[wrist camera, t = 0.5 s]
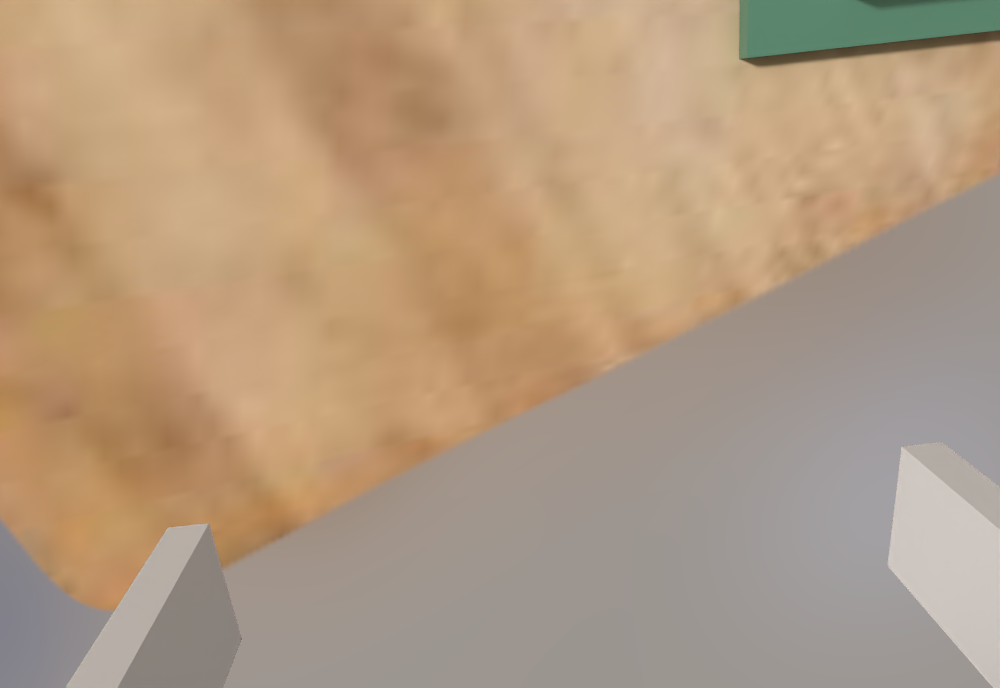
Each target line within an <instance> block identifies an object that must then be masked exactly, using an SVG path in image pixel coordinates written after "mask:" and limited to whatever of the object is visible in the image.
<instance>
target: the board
mask: <svg viewBox="0 0 1000 688" xmlns="http://www.w3.org/2000/svg"><path fill="white" fill-rule="evenodd" d="M997 30H1000V0H740V46H739V59H742V58H752V57H761V56H770V55H780V54H789V53H798V52H807V51H816V50H825V49H834V48H843V47H852V46H861V45H870V44H879V43H888V42H898V41H907V40H916V39H925V38H934V37H943V36H952V35H961V34H970V33H979V32H988V31H997Z"/></svg>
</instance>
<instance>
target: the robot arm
mask: <svg viewBox="0 0 1000 688" xmlns="http://www.w3.org/2000/svg"><path fill="white" fill-rule="evenodd" d="M888 567H889V568H890V569H891V570H892V571H893V573H894V574H895V575H896V576H897V577H898V578H899V580H900V581H901V582H902V583H903V584H904V585H905V586H906V588H907V589H908V590H909V591H910V592H911V593H912V594H913V596H914V597H915V598H916V599H917V600H918V601H919V603H920V604H921V605H922V606H923V607H924V608H925V609H926V610H927V612H928V613H929V614H930V615H931V616H932V618H933V619H934V620H935V621H936V622H937V623H938V625H939V626H940V627H941V628H942V629H943V630H944V631H945V633H946V634H947V635H948V636H949V637H950V638H951V640H952V641H953V642H954V643H955V644H956V645H957V646H958V648H959V649H960V650H961V651H962V652H963V653H964V655H965V656H966V657H967V658H968V659H969V660H970V661H971V663H972V664H973V665H974V666H975V667H976V668H977V670H978V671H979V672H980V673H981V674H982V675H983V676H984V678H985V679H986V680H987V681H988V682H989V683H990V685H991V686H992V687H993V688H1000V487H999V486H998V485H997V484H995V483H994V482H993V481H991V480H990V479H989V478H987V477H986V476H985V475H984V474H982V473H981V472H980V471H978V470H977V469H976V468H975V467H973V466H972V465H971V464H969V463H968V462H966V461H965V460H964V459H963V458H961V457H960V456H959V455H958V454H956V453H955V452H954V451H952V450H951V449H950V448H949V447H947V446H946V445H945V444H943V443H942V442H938V443H929V444H920V445H910V446H902V448H901V457H900V466H899V474H898V482H897V491H896V500H895V507H894V516H893V524H892V533H891V541H890V550H889V559H888ZM241 640H242V638H241V635H240V631H239V627H238V624H237V620H236V617H235V613H234V610H233V606H232V603H231V599H230V596H229V592H228V589H227V585H226V582H225V578H224V575H223V571H222V568H221V564H220V560H219V557H218V553H217V550H216V546H215V543H214V539H213V536H212V532H211V529H210V525H209V523H206V524H197V525H188V526H179V527H170V528H167V530H166V531H165V533H164V535H163V536H162V538H161V539H160V541H159V542H158V544H157V546H156V547H155V549H154V550H153V552H152V553H151V555H150V556H149V558H148V560H147V561H146V563H145V564H144V566H143V567H142V569H141V571H140V572H139V574H138V575H137V577H136V578H135V580H134V581H133V583H132V585H131V586H130V588H129V589H128V591H127V592H126V594H125V595H124V597H123V599H122V600H121V602H120V603H119V605H118V606H117V608H116V610H115V611H114V613H113V614H112V616H111V617H110V619H109V620H108V622H107V624H106V625H105V627H104V628H103V630H102V631H101V633H100V635H99V636H98V638H97V639H96V641H95V642H94V644H93V646H92V647H91V649H90V650H89V652H88V653H87V655H86V656H85V658H84V660H83V661H82V663H81V664H80V666H79V667H78V669H77V671H76V672H75V674H74V675H73V677H72V679H71V680H70V681H69V683H68V684H67V686H66V688H223V686H224V684H225V681H226V679H227V676H228V673H229V671H230V668H231V666H232V663H233V660H234V658H235V655H236V653H237V650H238V647H239V645H240V642H241Z"/></svg>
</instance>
